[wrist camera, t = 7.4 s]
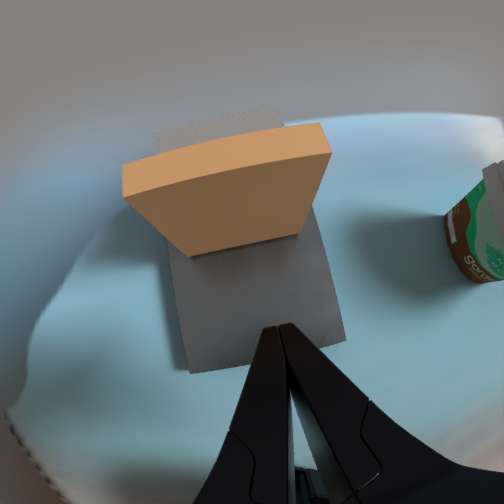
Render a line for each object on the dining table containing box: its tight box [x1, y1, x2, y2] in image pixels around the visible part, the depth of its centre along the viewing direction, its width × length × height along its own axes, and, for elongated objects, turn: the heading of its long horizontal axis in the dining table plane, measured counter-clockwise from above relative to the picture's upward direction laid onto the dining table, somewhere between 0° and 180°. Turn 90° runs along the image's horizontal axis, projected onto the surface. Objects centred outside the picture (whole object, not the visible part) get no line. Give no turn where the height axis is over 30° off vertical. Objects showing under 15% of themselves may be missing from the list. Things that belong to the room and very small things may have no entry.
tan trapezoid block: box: [123, 123, 332, 257], centre depth 15 cm, size 6×8×10 cm
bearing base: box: [157, 107, 346, 374], centre depth 17 cm, size 14×11×8 cm
